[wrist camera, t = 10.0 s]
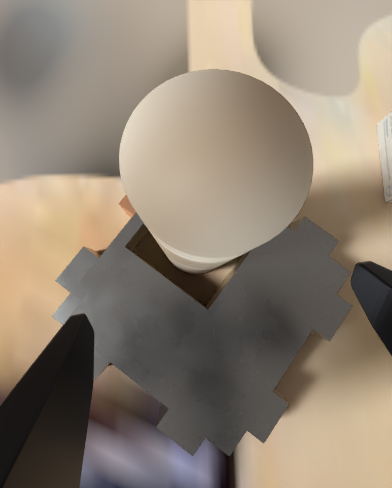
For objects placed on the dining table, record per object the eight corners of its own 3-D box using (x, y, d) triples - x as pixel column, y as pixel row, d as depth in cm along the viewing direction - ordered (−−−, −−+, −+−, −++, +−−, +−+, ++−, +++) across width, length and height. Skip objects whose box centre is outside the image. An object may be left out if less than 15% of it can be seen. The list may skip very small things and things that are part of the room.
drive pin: (237, 231, 21) (344, 124, 7) (208, 285, 20) (258, 291, 6) (183, 202, 21) (180, 38, 7) (153, 255, 20) (81, 192, 6)
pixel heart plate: (353, 270, 20) (376, 268, 18) (227, 461, 18) (234, 489, 16) (181, 145, 21) (181, 127, 19) (43, 315, 19) (22, 320, 17)
